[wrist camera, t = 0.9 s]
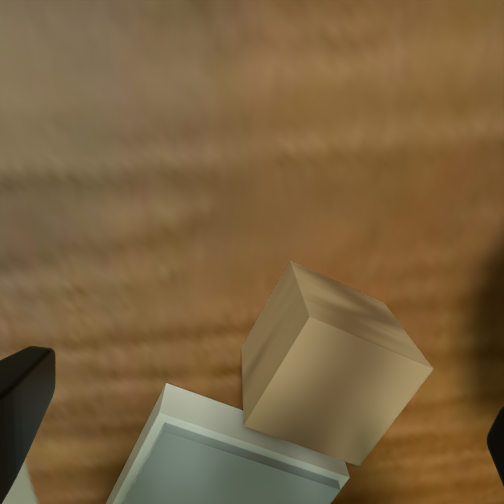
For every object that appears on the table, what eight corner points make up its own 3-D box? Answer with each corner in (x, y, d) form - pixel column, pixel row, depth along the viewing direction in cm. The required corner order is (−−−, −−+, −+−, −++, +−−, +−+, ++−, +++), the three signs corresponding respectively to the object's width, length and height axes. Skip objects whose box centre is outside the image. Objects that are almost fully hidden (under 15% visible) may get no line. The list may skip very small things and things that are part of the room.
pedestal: (339, 444, 26) (352, 486, 23) (257, 558, 30) (260, 606, 27) (166, 382, 24) (157, 420, 21) (99, 514, 27) (84, 562, 24)
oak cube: (383, 302, 23) (433, 368, 17) (330, 382, 24) (359, 466, 19) (289, 260, 21) (309, 316, 16) (241, 347, 23) (243, 426, 18)
